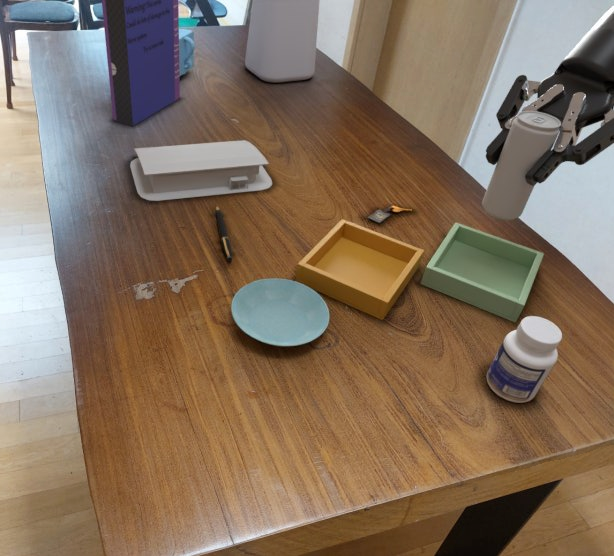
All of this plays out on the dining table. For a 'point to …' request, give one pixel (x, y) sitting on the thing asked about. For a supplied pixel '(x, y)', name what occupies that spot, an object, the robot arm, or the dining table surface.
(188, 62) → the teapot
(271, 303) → the saucer
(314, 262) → the ochre tray
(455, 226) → the sage tray
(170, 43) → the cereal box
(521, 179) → the beverage can
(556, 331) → the pill bottle
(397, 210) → the key tag
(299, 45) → the plastic bottle
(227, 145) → the white plastic case
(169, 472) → the dining table surface
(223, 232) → the fountain pen
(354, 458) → the dining table surface
